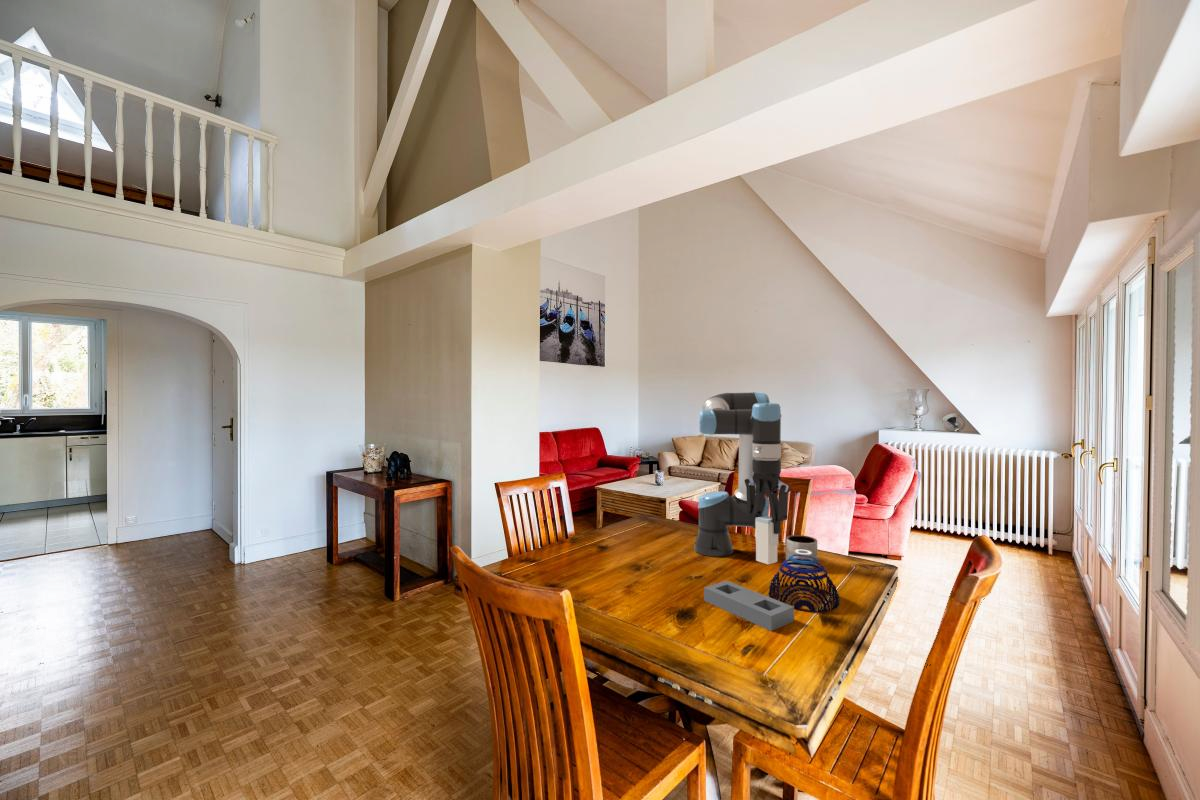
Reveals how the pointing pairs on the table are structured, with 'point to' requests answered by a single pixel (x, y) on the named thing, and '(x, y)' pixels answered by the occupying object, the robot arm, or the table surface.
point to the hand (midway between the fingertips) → (766, 542)
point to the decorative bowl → (809, 577)
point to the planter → (801, 543)
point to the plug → (764, 541)
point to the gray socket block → (749, 605)
